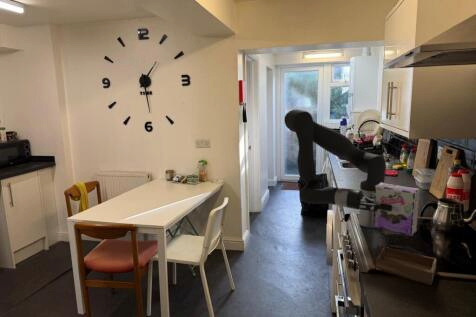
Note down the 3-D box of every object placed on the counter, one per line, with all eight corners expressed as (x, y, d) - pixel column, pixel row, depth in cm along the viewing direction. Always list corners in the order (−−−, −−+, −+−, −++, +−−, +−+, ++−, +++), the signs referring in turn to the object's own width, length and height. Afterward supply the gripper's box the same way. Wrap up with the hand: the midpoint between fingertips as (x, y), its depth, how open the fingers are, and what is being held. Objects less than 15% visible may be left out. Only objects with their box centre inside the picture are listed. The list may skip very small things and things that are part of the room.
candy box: (372, 226, 124) (374, 185, 120) (378, 221, 128) (380, 181, 124) (411, 236, 114) (414, 192, 111) (417, 231, 118) (420, 188, 115)
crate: (383, 256, 121) (383, 246, 120) (435, 269, 111) (436, 258, 110) (375, 269, 112) (375, 259, 111) (431, 285, 102) (432, 273, 101)
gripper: (342, 194, 123) (390, 201, 113) (354, 184, 134) (398, 190, 125) (342, 212, 125) (389, 221, 115) (354, 202, 136) (397, 209, 126)
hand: (393, 205), depth 120 cm, fingers closed on candy box, 6 cm apart
